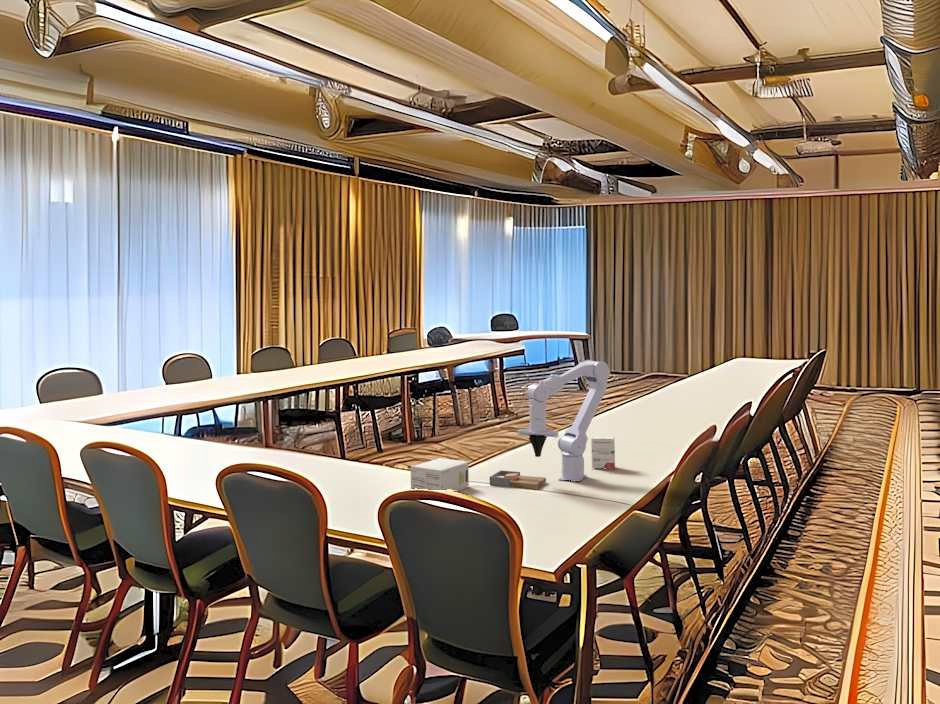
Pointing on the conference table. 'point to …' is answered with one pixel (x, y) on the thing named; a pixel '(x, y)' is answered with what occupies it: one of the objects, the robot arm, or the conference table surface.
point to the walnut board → (528, 482)
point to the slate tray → (501, 478)
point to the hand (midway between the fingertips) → (538, 456)
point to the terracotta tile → (512, 476)
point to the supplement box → (440, 475)
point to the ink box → (603, 452)
